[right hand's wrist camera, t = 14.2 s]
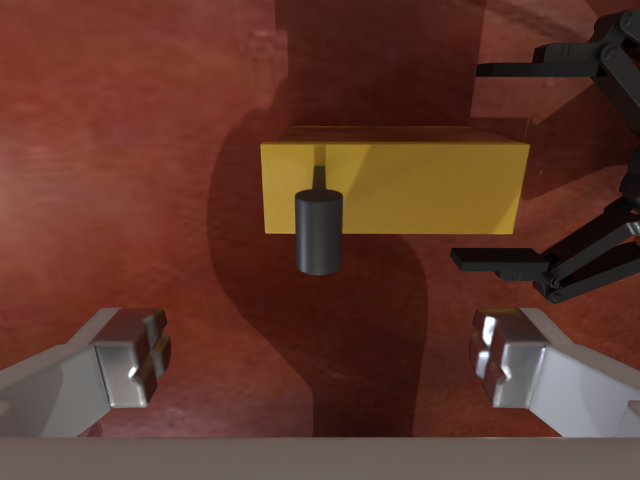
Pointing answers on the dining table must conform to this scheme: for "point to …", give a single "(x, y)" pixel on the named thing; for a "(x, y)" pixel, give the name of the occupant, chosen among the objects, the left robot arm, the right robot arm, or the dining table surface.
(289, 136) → the chest
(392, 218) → the lid
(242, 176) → the dining table surface
